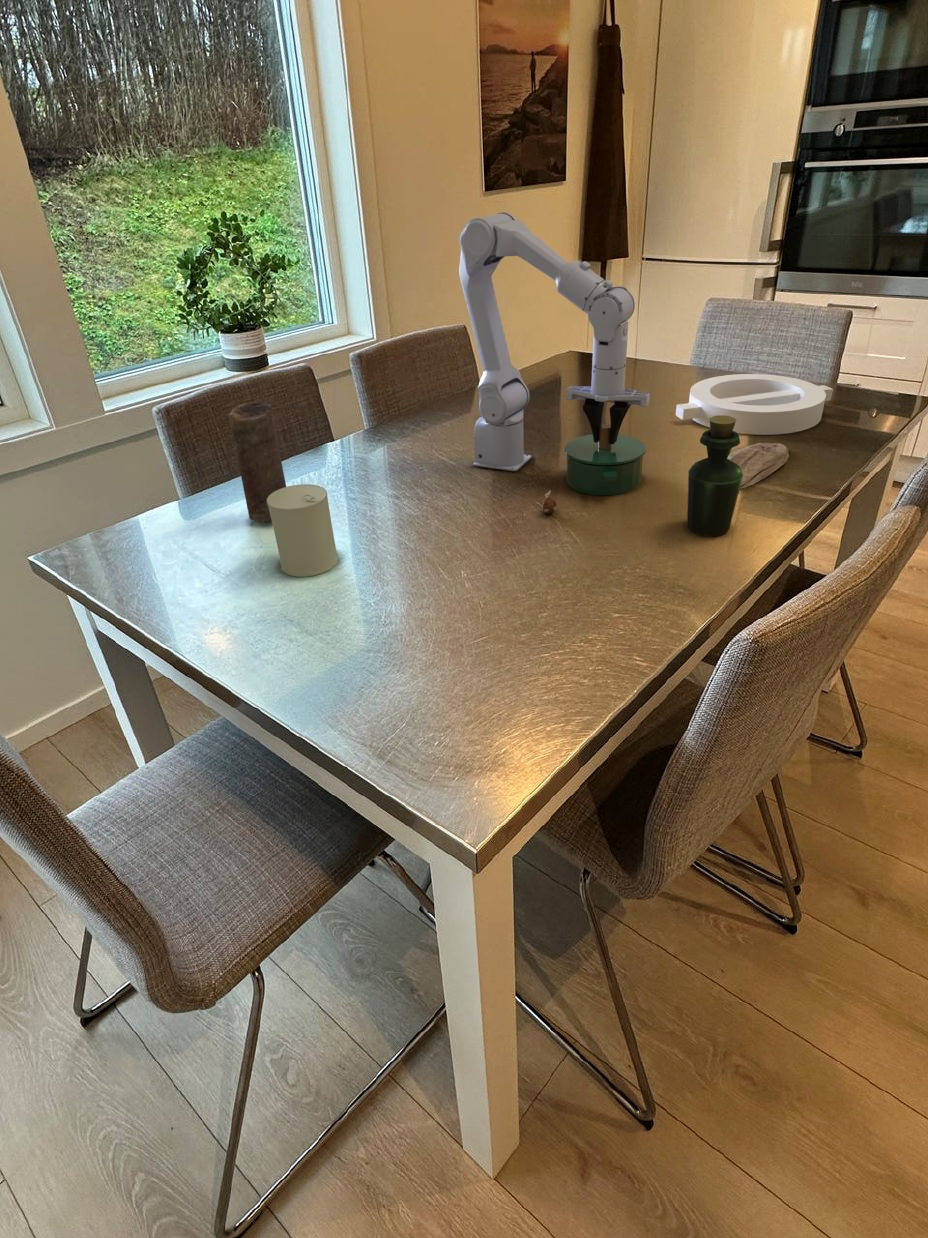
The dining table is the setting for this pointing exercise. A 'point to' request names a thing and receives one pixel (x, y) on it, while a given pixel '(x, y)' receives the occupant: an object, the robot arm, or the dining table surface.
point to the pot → (604, 477)
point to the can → (303, 529)
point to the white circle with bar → (757, 403)
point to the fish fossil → (759, 461)
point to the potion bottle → (714, 481)
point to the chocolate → (548, 505)
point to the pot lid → (605, 448)
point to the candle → (257, 456)
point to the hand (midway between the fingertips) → (605, 441)
